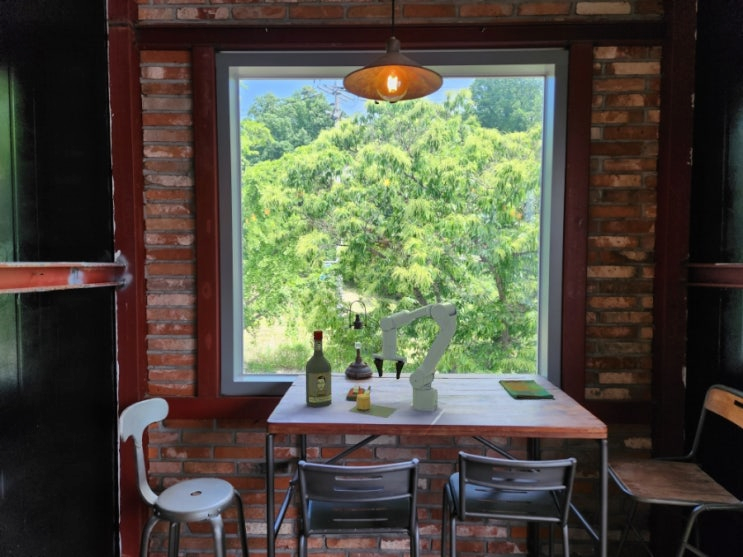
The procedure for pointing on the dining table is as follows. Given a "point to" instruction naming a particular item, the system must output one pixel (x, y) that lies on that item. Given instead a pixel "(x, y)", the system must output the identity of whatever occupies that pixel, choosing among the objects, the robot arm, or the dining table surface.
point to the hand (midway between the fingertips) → (389, 377)
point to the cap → (363, 401)
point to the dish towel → (525, 389)
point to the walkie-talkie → (356, 392)
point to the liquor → (318, 376)
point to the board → (375, 411)
